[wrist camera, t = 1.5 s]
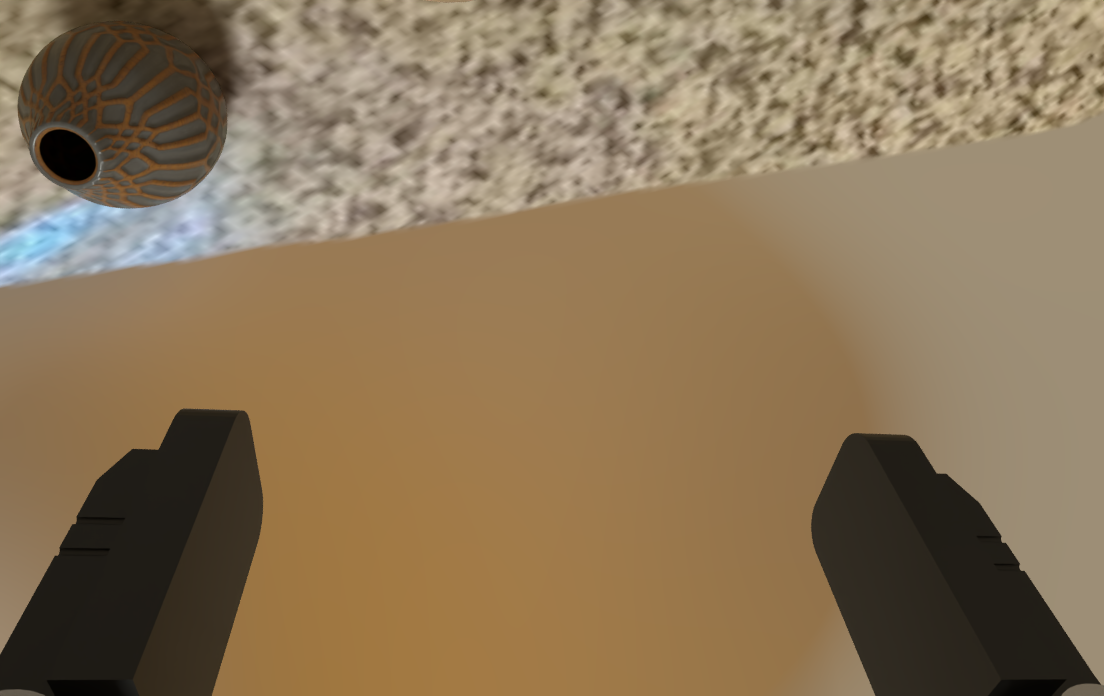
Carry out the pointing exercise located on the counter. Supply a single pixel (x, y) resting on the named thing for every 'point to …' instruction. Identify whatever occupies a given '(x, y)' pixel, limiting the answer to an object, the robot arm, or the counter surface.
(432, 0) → the trivet
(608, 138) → the counter surface
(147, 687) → the robot arm
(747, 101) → the counter surface
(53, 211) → the counter surface
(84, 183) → the vase
